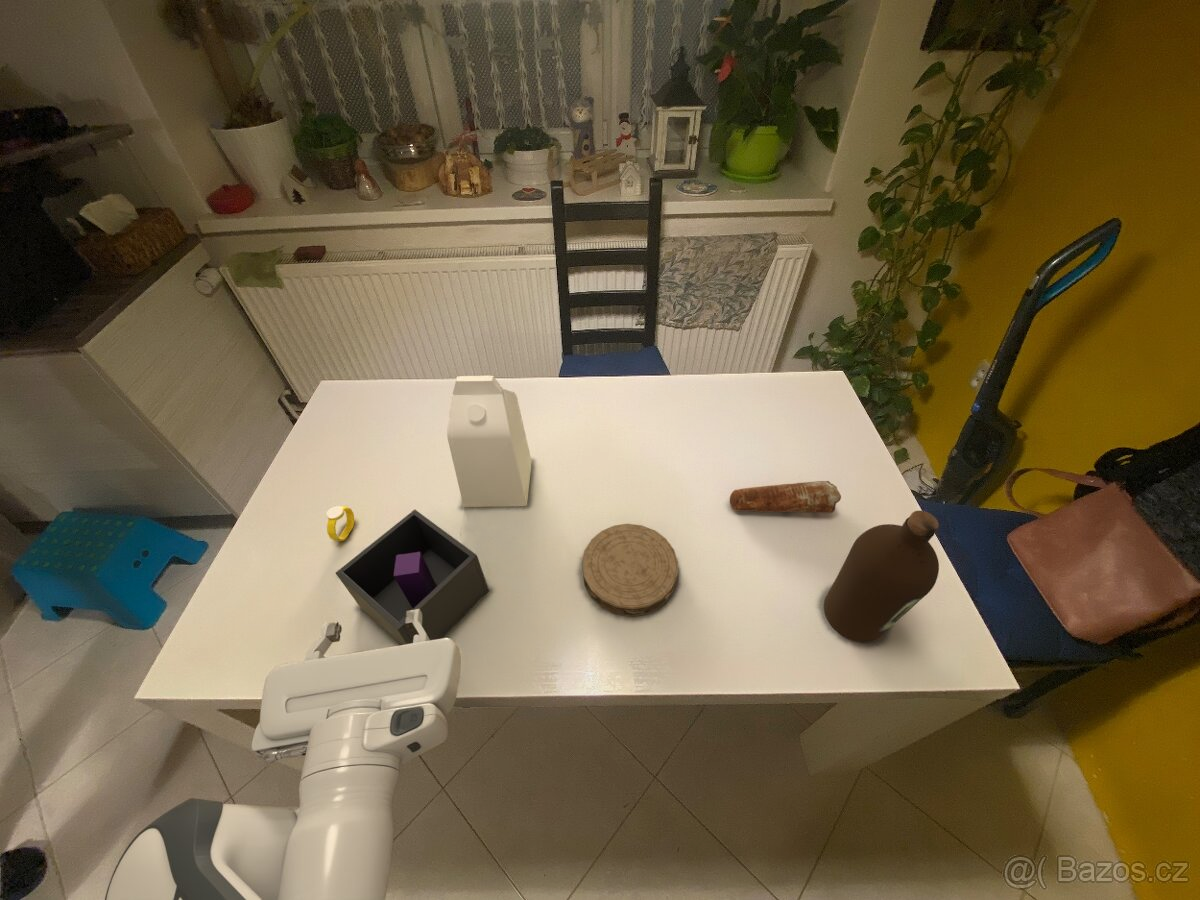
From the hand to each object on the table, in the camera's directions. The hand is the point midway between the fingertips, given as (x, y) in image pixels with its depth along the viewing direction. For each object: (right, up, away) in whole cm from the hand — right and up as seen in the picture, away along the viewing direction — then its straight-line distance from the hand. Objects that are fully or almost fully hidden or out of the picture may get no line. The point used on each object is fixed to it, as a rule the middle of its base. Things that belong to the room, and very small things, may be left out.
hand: (374, 618), depth 61 cm
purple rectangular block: (-1, -4, +22) cm, 22 cm away
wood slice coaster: (+32, -1, +25) cm, 41 cm away
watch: (-19, +5, +32) cm, 37 cm away
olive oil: (+68, -6, +20) cm, 71 cm away
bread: (+61, +9, +35) cm, 71 cm away
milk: (+7, +13, +40) cm, 42 cm away
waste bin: (-1, -4, +22) cm, 23 cm away
